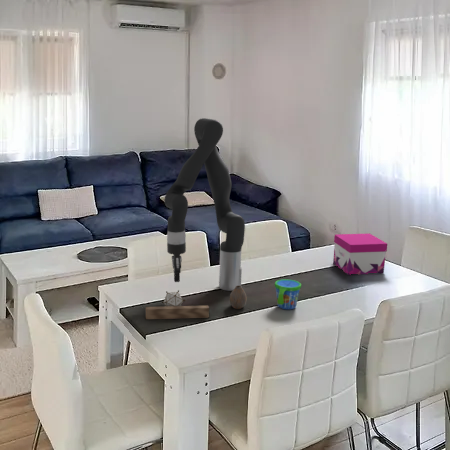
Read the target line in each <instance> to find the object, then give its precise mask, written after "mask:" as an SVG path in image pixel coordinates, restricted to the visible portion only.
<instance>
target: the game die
mask: <svg viewBox="0 0 450 450" xmlns="http://www.w3.org/2000/svg"><path fill="white" fill-rule="evenodd" d="M165 292H166V296H165V297H164V300H163V301H161V303H162V304H163V305H164V306H183V303H184V302H186V299H183V297H182V296H181V294H180V290H179V289H178V290H177V291H171V292H168V291H165Z"/></svg>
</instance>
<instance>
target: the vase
mask: <svg viewBox="0 0 450 450" xmlns="http://www.w3.org/2000/svg"><path fill="white" fill-rule="evenodd" d="M247 296H248V295H247V294H246V292H245V290H244V288H243V286H242V285H241V286H236V287H235V289H234V290H233V291H231V292H230V294H229V305H230V306H231V307H232V308H233V309H236V310H241V309H243V308H244V307H245V306H246V304H247V299H248V297H247Z"/></svg>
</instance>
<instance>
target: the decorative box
mask: <svg viewBox="0 0 450 450" xmlns="http://www.w3.org/2000/svg"><path fill="white" fill-rule="evenodd" d="M333 237H334V239H333V243H334V248H333V260H332V261H333V262H332V263H333V265H335V267H337V266H338V267H337V268H338V269H340V270H341V269H342V270H343V271H342V270H341V271H342V272H344V273H345V274H346V273H347V274H346V275H347V276H352V275H351V274H358V275H369V274H368V273H380V274H384V273H385V263H386V262H385V261H386V254H387V251H388V243H387V242H385V241H384V240H382V239H381V238H379V237H377V236H375V235H373V234H371V233H345V234H343V233H340V234H339V233H338V234H334V236H333Z"/></svg>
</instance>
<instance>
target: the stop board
mask: <svg viewBox="0 0 450 450" xmlns="http://www.w3.org/2000/svg"><path fill="white" fill-rule="evenodd" d="M209 313H210V306H209V305H181V306H165V305H164V306H145V320H162V319H163V320H165V319H166V320H169V319H201V318H202V319H203V318H204V319H205V318H207V319H209V317H210V314H209Z"/></svg>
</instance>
